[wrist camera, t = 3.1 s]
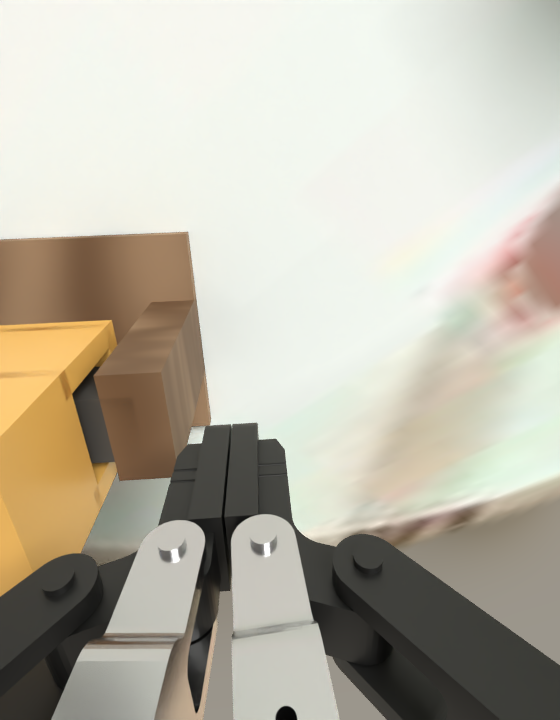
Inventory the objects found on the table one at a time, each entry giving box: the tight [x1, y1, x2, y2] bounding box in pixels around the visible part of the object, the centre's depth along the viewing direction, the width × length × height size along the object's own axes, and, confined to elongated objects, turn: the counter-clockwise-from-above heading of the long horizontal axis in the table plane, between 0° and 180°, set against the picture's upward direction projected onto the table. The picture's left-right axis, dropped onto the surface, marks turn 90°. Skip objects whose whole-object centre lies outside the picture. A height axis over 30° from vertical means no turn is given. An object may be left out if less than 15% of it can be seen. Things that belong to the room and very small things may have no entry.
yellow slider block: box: [0, 320, 117, 596], centre depth 13 cm, size 5×5×8 cm
